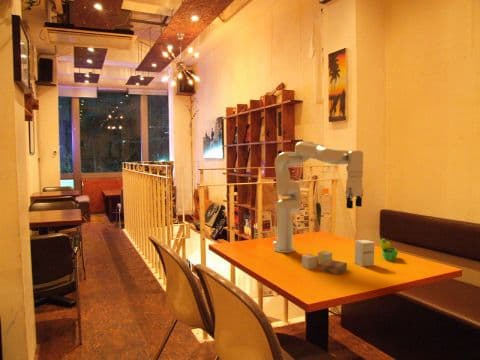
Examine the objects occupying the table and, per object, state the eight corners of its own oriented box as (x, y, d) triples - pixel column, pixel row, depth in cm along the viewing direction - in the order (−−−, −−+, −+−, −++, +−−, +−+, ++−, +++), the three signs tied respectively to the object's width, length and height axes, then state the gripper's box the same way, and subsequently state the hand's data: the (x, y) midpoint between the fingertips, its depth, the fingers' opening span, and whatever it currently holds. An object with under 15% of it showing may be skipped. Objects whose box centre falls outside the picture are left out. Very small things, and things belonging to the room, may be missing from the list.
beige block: (317, 263, 204) (318, 252, 204) (323, 261, 208) (323, 250, 208) (326, 265, 201) (326, 254, 200) (332, 263, 205) (332, 252, 204)
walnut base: (320, 271, 191) (320, 264, 190) (327, 267, 199) (328, 259, 199) (339, 275, 185) (340, 267, 185) (346, 270, 193) (346, 262, 193)
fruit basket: (398, 261, 208) (398, 241, 208) (381, 260, 210) (381, 240, 209) (394, 256, 220) (394, 237, 219) (378, 255, 221) (378, 236, 221)
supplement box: (362, 267, 198) (362, 243, 197) (354, 263, 205) (354, 240, 204) (374, 265, 200) (375, 242, 199) (366, 262, 207) (366, 239, 206)
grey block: (301, 266, 199) (301, 255, 198) (310, 265, 201) (310, 254, 201) (308, 269, 194) (308, 257, 193) (316, 268, 196) (317, 256, 196)
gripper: (356, 173, 205) (355, 205, 206) (340, 174, 193) (339, 208, 194) (369, 174, 200) (368, 206, 201) (353, 175, 188) (352, 209, 189)
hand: (354, 207), depth 198 cm, fingers open, 9 cm apart
